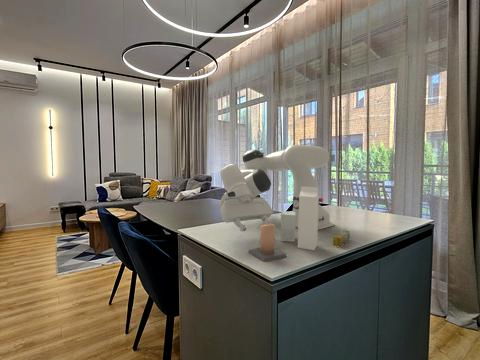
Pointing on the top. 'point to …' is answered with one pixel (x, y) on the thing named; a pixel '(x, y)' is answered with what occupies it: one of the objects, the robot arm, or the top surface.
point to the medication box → (341, 238)
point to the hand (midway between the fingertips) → (255, 229)
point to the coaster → (267, 257)
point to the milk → (308, 218)
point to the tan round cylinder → (267, 238)
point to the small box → (288, 226)
